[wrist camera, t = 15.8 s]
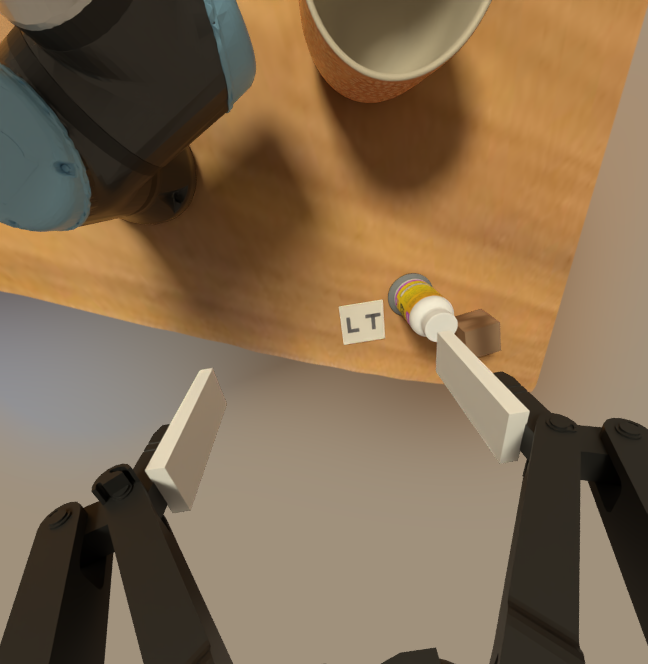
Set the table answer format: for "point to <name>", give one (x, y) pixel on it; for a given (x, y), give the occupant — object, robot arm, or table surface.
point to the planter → (385, 41)
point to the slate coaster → (398, 283)
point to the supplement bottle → (425, 309)
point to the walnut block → (479, 332)
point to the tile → (362, 322)
